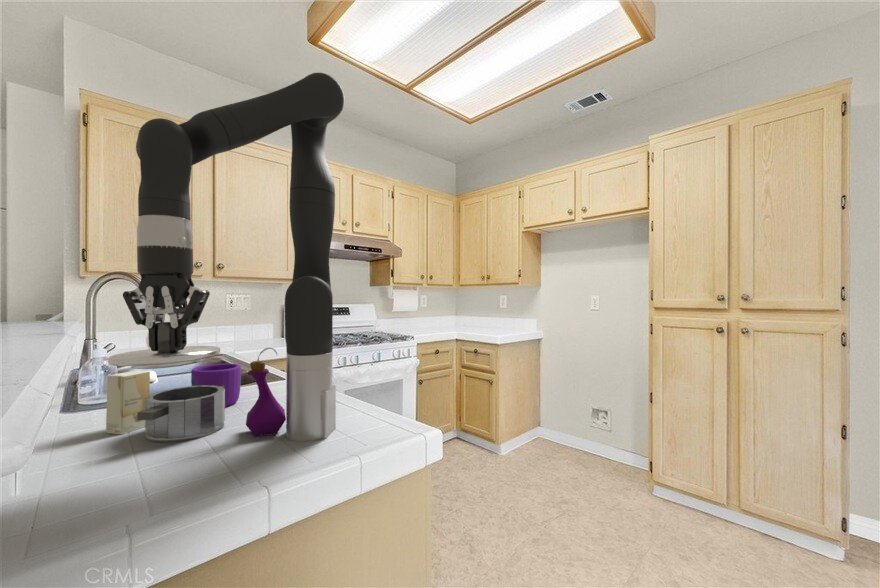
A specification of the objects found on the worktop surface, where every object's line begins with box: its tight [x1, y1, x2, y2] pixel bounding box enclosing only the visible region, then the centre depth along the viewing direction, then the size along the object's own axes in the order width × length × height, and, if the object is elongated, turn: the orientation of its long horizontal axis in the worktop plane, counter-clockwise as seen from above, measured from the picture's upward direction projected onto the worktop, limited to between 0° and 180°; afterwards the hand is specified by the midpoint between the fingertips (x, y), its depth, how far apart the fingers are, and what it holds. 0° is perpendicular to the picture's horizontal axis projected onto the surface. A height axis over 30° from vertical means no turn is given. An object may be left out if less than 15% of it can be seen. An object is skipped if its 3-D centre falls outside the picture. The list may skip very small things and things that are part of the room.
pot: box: [137, 385, 226, 444], centre depth 81 cm, size 14×22×8 cm, turn 177°
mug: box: [190, 363, 242, 408], centre depth 103 cm, size 17×11×10 cm, turn 44°
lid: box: [107, 321, 221, 370], centre depth 63 cm, size 15×15×7 cm
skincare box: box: [105, 370, 151, 435], centre depth 82 cm, size 6×4×12 cm
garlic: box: [148, 370, 159, 385], centre depth 126 cm, size 8×7×4 cm
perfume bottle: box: [245, 346, 286, 437], centre depth 81 cm, size 8×8×18 cm
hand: (167, 349), depth 63 cm, fingers closed on lid, 2 cm apart
